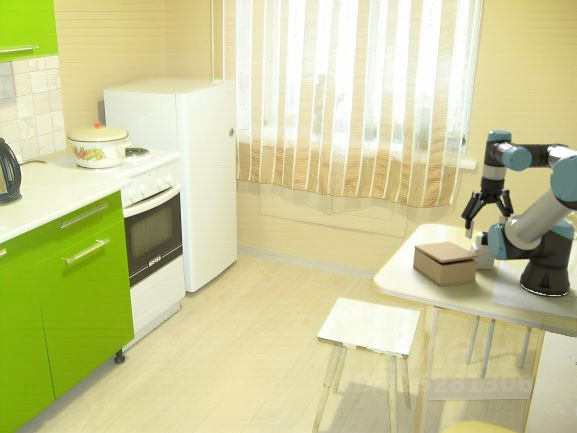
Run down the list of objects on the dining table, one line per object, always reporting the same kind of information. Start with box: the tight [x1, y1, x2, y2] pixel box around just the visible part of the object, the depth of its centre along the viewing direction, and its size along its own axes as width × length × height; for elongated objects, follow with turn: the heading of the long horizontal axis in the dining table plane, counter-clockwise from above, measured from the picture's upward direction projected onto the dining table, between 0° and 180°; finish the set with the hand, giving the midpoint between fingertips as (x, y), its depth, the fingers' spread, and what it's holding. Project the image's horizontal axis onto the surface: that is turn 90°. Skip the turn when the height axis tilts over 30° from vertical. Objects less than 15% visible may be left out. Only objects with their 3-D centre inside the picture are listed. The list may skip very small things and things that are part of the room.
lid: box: [414, 241, 478, 263], centre depth 206 cm, size 16×14×1 cm
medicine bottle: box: [469, 231, 496, 271], centre depth 214 cm, size 7×7×12 cm
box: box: [412, 247, 478, 287], centre depth 208 cm, size 16×14×7 cm
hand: (484, 235), depth 213 cm, fingers open, 13 cm apart
